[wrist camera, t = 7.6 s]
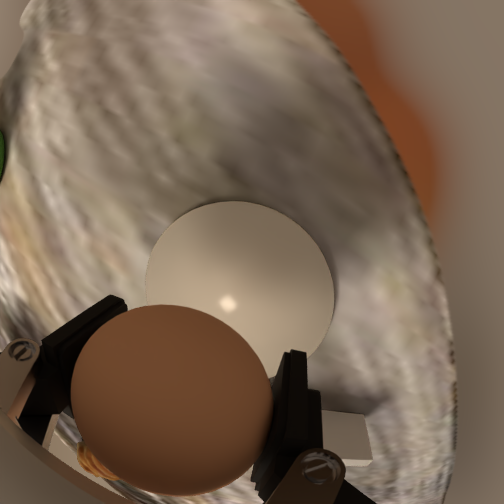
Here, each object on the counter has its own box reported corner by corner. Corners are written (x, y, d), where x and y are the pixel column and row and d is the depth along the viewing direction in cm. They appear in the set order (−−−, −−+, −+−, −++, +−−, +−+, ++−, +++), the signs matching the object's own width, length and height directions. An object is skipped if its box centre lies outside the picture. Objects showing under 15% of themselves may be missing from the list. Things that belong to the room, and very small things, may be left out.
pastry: (113, 436, 22) (98, 458, 19) (152, 471, 23) (141, 492, 19) (79, 437, 25) (65, 454, 21) (112, 468, 25) (101, 485, 22)
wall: (363, 414, 16) (373, 460, 12) (359, 421, 17) (367, 466, 12) (89, 335, 18) (54, 362, 14) (90, 343, 19) (56, 370, 14)
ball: (307, 382, 10) (304, 524, 4) (187, 416, 11) (138, 516, 5) (224, 245, 9) (111, 346, 3) (108, 312, 10) (6, 391, 4)
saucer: (361, 334, 15) (363, 339, 14) (210, 391, 18) (208, 397, 17) (272, 162, 14) (271, 161, 13) (121, 259, 16) (116, 261, 16)
